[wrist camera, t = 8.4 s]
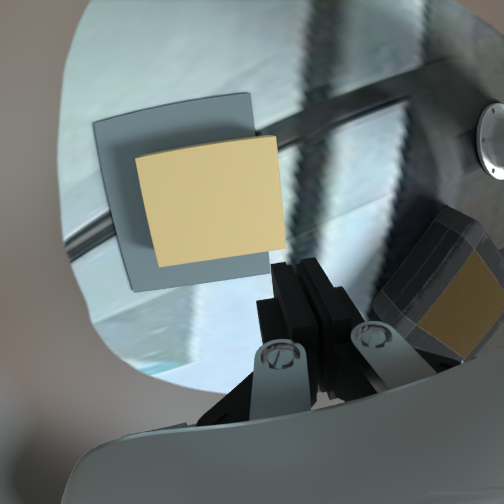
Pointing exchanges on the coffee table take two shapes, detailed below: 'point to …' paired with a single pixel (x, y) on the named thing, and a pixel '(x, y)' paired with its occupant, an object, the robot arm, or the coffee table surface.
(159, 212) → the pale yellow block
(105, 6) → the coffee table surface
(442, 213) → the cash box
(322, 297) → the robot arm
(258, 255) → the mat
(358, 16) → the coffee table surface
